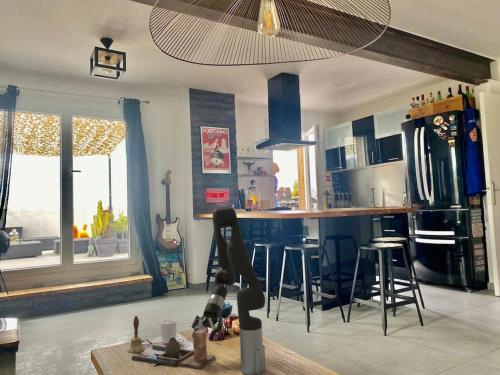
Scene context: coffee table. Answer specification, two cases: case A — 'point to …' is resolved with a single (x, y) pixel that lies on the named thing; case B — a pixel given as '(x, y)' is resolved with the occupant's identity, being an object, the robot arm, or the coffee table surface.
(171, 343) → the vase
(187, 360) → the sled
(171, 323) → the white cup
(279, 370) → the coffee table surface
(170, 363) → the lane rails
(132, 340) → the hand bell
